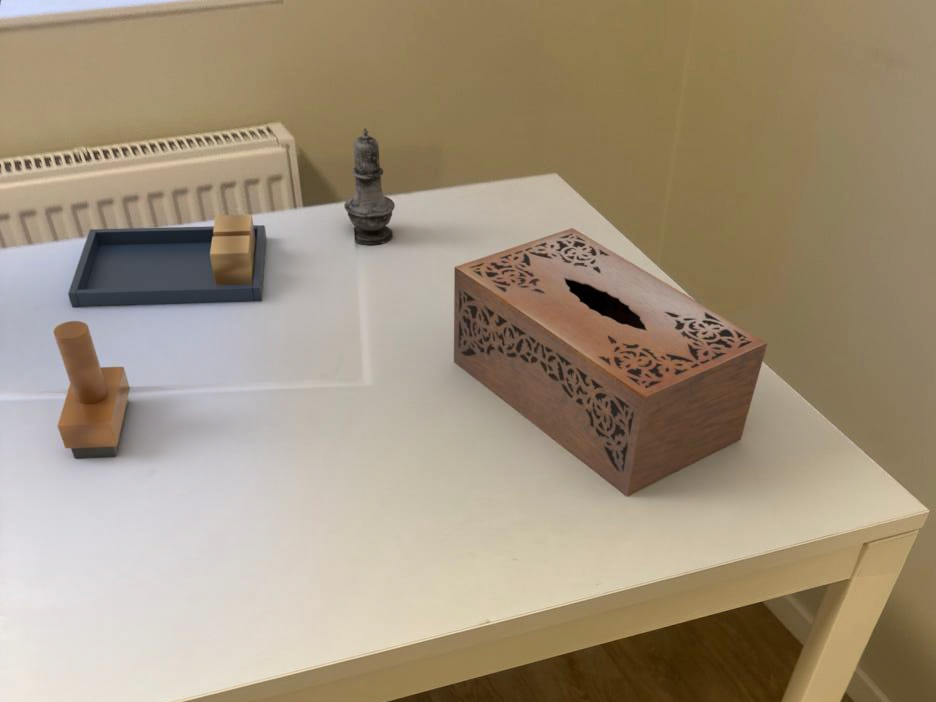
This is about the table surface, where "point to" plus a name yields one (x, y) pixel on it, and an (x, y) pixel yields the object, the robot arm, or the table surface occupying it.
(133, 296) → the tray
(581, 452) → the tissue box cover
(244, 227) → the block
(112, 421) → the brush
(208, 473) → the table surface
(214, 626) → the table surface
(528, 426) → the table surface
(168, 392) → the table surface
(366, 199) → the salt shaker
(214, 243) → the block
